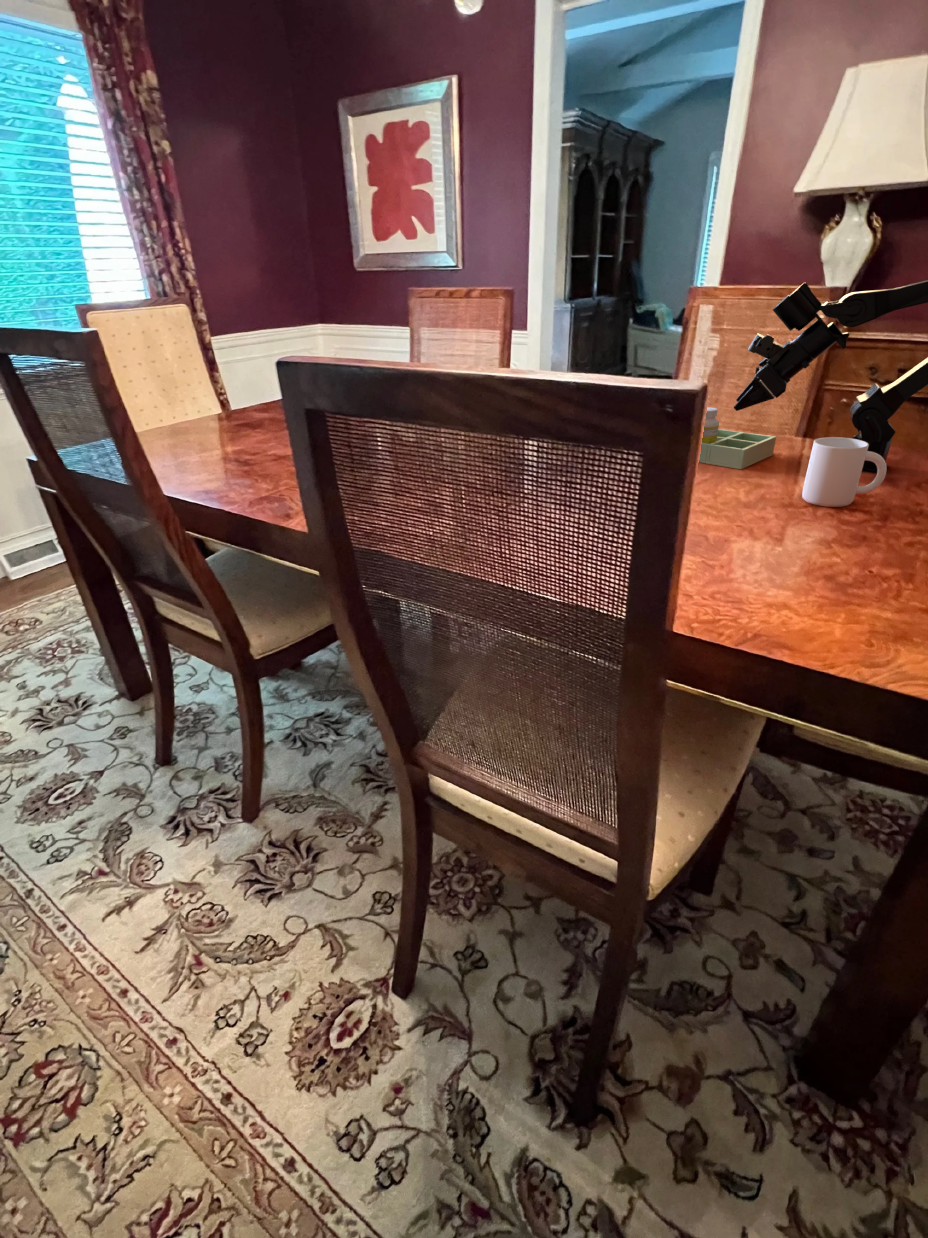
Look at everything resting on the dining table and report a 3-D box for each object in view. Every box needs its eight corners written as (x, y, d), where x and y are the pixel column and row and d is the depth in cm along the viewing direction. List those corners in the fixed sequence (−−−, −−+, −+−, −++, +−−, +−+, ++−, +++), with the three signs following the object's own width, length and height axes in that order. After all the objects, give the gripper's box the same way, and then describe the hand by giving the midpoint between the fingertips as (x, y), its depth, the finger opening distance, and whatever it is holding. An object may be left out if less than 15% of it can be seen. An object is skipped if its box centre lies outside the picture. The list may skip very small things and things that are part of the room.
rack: (772, 454, 139) (776, 436, 137) (741, 469, 130) (744, 449, 128) (708, 445, 149) (711, 427, 147) (675, 458, 140) (677, 439, 139)
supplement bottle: (686, 451, 142) (692, 406, 138) (710, 450, 142) (717, 406, 137) (693, 457, 138) (699, 411, 133) (717, 456, 137) (724, 410, 132)
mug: (874, 497, 111) (890, 439, 106) (880, 511, 105) (898, 450, 100) (799, 491, 116) (812, 435, 111) (801, 505, 109) (815, 446, 104)
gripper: (778, 314, 130) (715, 370, 139) (778, 321, 115) (707, 383, 125) (812, 355, 131) (747, 407, 140) (817, 366, 116) (743, 424, 125)
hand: (736, 405), depth 133 cm, fingers open, 9 cm apart
